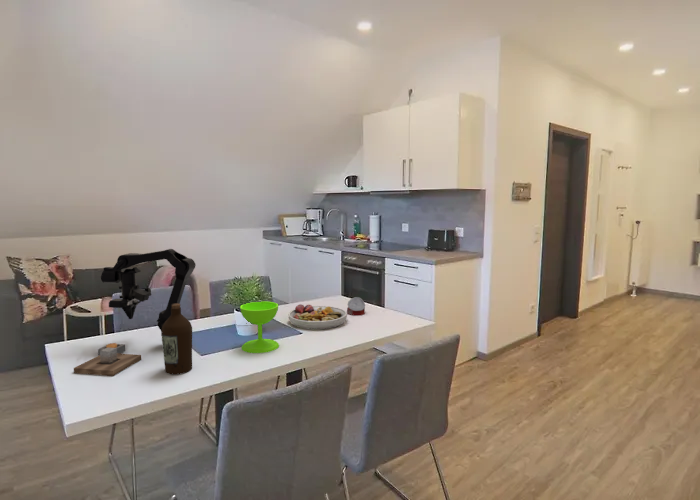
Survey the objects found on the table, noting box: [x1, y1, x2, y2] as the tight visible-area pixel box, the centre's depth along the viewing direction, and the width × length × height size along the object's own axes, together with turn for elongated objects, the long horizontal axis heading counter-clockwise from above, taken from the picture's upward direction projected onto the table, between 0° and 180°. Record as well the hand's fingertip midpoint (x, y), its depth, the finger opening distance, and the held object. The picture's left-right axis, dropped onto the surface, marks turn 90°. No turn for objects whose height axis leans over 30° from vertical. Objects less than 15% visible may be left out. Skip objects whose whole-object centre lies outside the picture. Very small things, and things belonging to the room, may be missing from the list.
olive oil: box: [160, 303, 193, 376], centre depth 159 cm, size 11×11×25 cm
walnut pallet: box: [73, 353, 142, 377], centre depth 164 cm, size 16×16×2 cm
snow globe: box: [346, 296, 366, 317], centre depth 239 cm, size 11×10×10 cm
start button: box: [105, 342, 118, 348], centre depth 176 cm, size 4×4×3 cm
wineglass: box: [239, 300, 280, 354], centre depth 184 cm, size 16×16×18 cm
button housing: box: [97, 343, 127, 356], centre depth 177 cm, size 7×7×3 cm
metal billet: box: [100, 347, 117, 365], centre depth 163 cm, size 4×4×6 cm
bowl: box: [288, 303, 348, 330], centre depth 222 cm, size 30×30×8 cm
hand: (130, 318), depth 185 cm, fingers closed
